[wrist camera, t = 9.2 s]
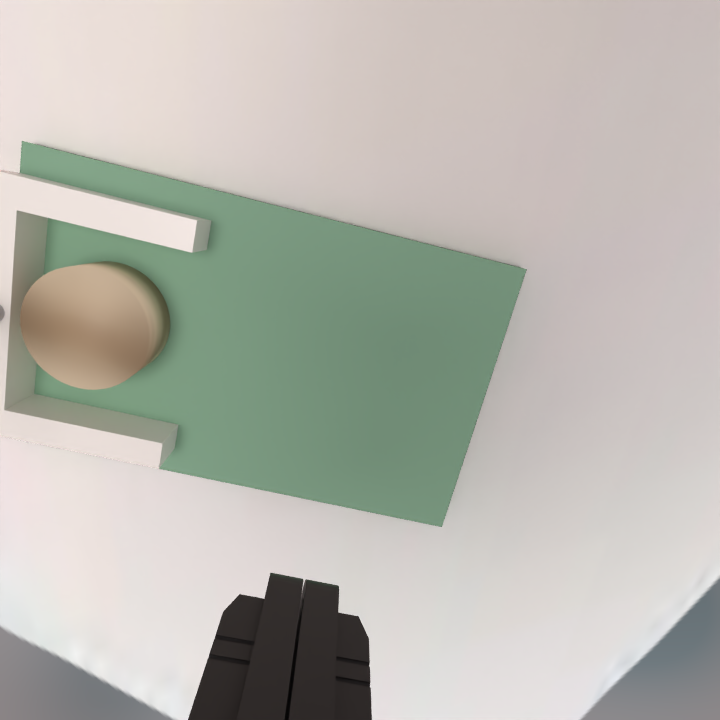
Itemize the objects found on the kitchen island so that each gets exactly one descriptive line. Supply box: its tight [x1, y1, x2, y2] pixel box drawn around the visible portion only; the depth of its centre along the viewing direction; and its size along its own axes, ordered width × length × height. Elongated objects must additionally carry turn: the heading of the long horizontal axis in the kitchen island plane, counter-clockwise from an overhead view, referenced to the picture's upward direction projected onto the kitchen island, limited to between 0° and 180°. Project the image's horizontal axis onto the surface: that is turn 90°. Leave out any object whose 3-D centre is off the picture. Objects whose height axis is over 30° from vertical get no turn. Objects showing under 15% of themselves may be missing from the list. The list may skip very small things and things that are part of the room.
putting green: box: [20, 141, 527, 527], centre depth 28 cm, size 16×26×1 cm, turn 76°
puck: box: [20, 261, 170, 390], centre depth 25 cm, size 6×6×3 cm
